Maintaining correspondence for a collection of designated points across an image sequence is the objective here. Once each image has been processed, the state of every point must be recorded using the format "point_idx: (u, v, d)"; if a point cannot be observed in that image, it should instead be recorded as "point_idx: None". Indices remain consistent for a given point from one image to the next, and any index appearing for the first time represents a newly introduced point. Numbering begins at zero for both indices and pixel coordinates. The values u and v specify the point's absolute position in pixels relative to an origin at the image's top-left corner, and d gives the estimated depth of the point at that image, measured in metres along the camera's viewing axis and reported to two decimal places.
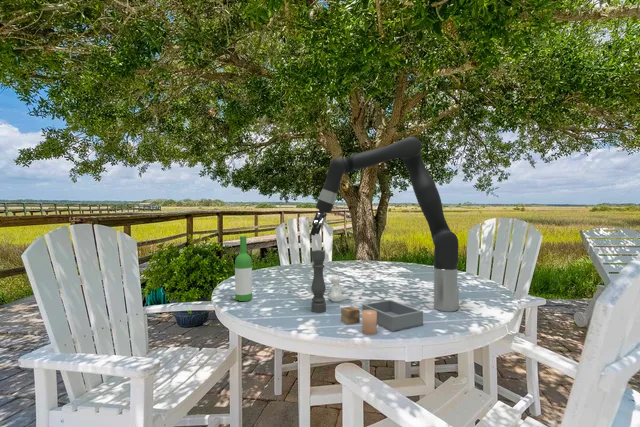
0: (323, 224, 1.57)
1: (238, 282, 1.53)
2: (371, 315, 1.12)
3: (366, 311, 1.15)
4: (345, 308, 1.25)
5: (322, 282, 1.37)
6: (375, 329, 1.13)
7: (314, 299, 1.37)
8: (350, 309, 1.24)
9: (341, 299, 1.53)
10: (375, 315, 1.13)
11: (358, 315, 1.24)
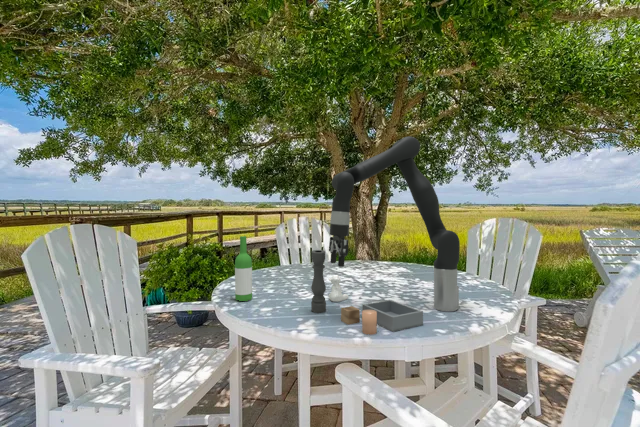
0: None
1: (238, 282, 1.53)
2: (371, 315, 1.12)
3: (366, 311, 1.15)
4: (345, 308, 1.25)
5: (322, 283, 1.36)
6: (375, 329, 1.13)
7: (314, 299, 1.36)
8: (350, 309, 1.24)
9: (341, 299, 1.53)
10: (375, 315, 1.13)
11: (358, 315, 1.24)
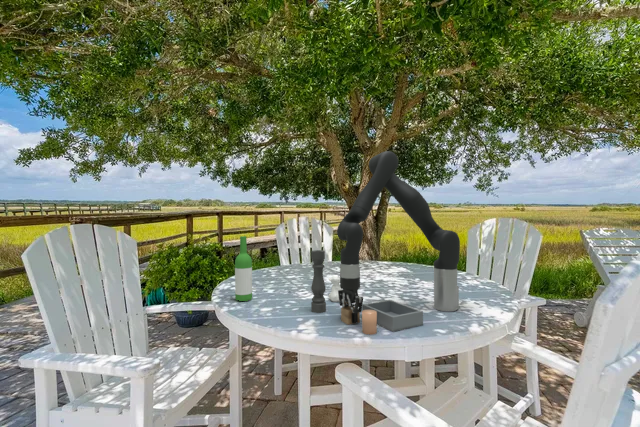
0: None
1: (238, 282, 1.53)
2: (371, 315, 1.12)
3: (366, 311, 1.15)
4: (345, 308, 1.25)
5: (322, 282, 1.37)
6: (375, 329, 1.13)
7: (314, 299, 1.37)
8: (350, 309, 1.24)
9: None
10: (375, 315, 1.13)
11: (358, 315, 1.24)
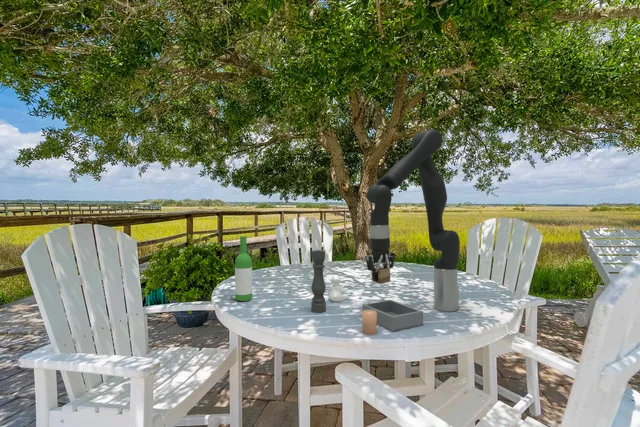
0: (392, 266, 1.31)
1: (238, 282, 1.53)
2: (371, 315, 1.12)
3: (366, 311, 1.15)
4: (380, 267, 1.31)
5: (322, 282, 1.37)
6: (375, 329, 1.13)
7: (314, 299, 1.37)
8: None
9: (341, 299, 1.53)
10: (375, 315, 1.13)
11: (379, 275, 1.26)
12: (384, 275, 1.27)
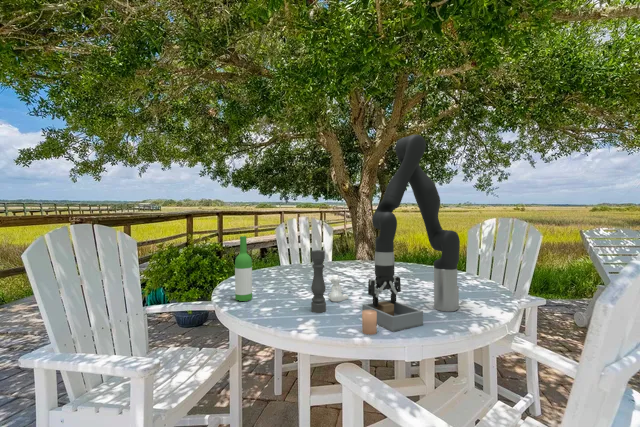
0: (399, 290, 1.31)
1: (238, 282, 1.53)
2: (371, 315, 1.12)
3: (366, 311, 1.15)
4: (384, 302, 1.31)
5: (322, 282, 1.37)
6: (375, 329, 1.13)
7: (314, 299, 1.37)
8: (381, 303, 1.29)
9: (341, 299, 1.53)
10: (375, 315, 1.13)
11: (382, 311, 1.26)
12: (387, 311, 1.26)
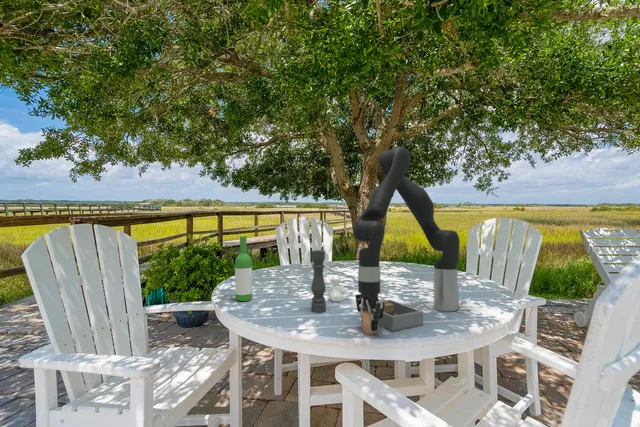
0: None
1: (238, 282, 1.53)
2: None
3: (366, 311, 1.15)
4: (384, 302, 1.31)
5: (322, 282, 1.37)
6: None
7: (314, 299, 1.37)
8: None
9: (341, 299, 1.53)
10: None
11: None
12: (387, 311, 1.26)
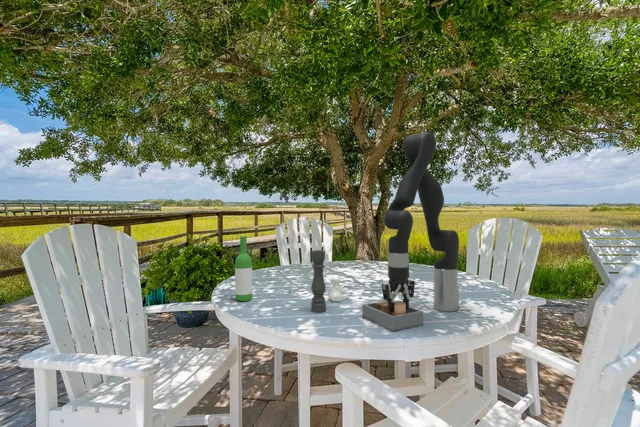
0: (412, 295, 1.23)
1: (238, 282, 1.53)
2: None
3: (399, 302, 1.22)
4: (384, 302, 1.31)
5: (322, 282, 1.37)
6: None
7: (314, 299, 1.37)
8: (381, 303, 1.29)
9: (341, 299, 1.53)
10: (395, 307, 1.19)
11: (382, 311, 1.26)
12: (387, 311, 1.26)
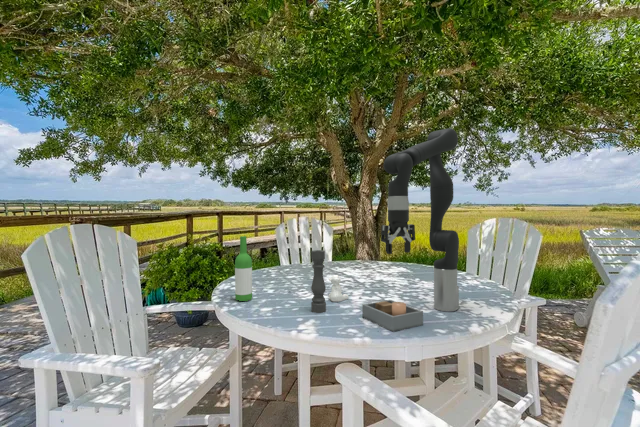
0: (414, 239, 1.23)
1: (238, 282, 1.53)
2: (392, 304, 1.22)
3: (399, 302, 1.22)
4: (384, 302, 1.31)
5: (322, 282, 1.37)
6: None
7: (314, 299, 1.37)
8: (381, 303, 1.29)
9: (341, 299, 1.53)
10: (394, 306, 1.20)
11: (382, 311, 1.26)
12: (387, 311, 1.26)
